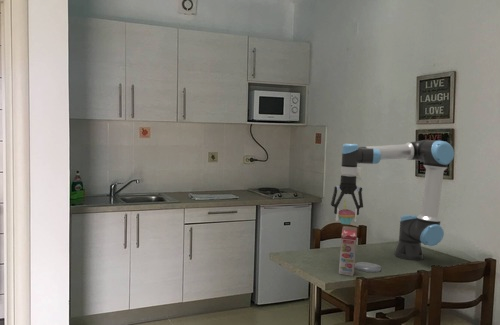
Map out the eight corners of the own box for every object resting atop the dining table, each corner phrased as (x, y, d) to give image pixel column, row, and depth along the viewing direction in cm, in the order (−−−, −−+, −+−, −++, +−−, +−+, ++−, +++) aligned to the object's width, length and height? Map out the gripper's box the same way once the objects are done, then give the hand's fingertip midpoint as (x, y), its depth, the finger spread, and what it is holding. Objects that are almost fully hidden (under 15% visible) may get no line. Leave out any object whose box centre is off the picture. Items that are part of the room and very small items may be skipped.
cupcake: (333, 222, 230) (335, 198, 229) (347, 221, 233) (349, 198, 232) (343, 225, 222) (345, 201, 221) (358, 225, 225) (359, 200, 224)
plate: (377, 265, 233) (377, 262, 233) (384, 273, 220) (384, 270, 220) (351, 263, 233) (351, 261, 233) (356, 271, 220) (357, 269, 220)
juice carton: (340, 269, 221) (343, 224, 220) (354, 271, 220) (357, 226, 218) (338, 273, 215) (342, 227, 214) (353, 275, 213) (356, 229, 212)
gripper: (368, 175, 229) (365, 220, 231) (326, 173, 230) (323, 218, 231) (371, 177, 222) (369, 223, 223) (328, 175, 222) (325, 221, 224)
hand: (346, 220), depth 227 cm, fingers closed on cupcake, 8 cm apart
